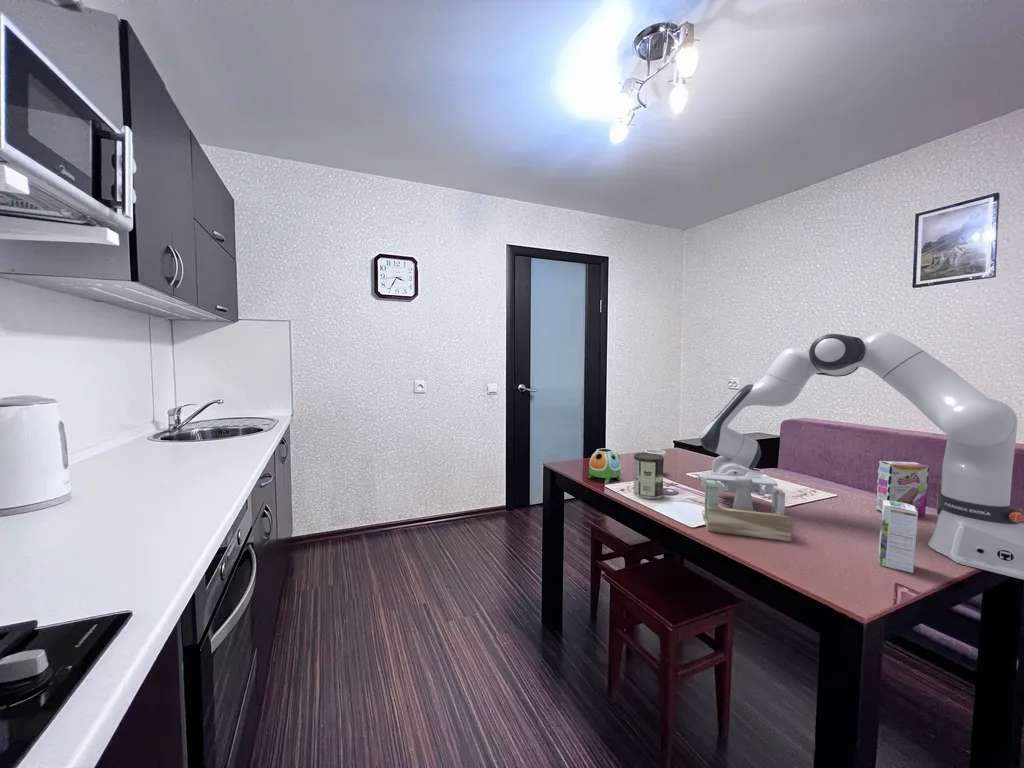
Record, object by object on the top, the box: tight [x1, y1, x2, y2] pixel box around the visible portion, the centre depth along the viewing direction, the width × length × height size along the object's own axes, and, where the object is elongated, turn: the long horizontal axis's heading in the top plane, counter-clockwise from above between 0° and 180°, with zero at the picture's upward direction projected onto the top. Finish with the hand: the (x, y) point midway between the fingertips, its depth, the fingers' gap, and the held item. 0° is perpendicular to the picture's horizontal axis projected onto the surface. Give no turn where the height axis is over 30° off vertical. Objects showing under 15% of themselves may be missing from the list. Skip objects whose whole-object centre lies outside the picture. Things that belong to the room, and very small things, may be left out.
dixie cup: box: [644, 448, 666, 458], centre depth 168 cm, size 8×8×10 cm
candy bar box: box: [874, 460, 930, 518], centre depth 124 cm, size 11×5×16 cm, turn 84°
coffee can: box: [633, 452, 665, 500], centre depth 141 cm, size 10×10×14 cm
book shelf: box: [701, 480, 793, 542], centre depth 113 cm, size 12×20×12 cm, turn 72°
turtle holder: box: [588, 447, 622, 484], centre depth 162 cm, size 12×18×12 cm
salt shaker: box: [731, 476, 755, 512], centre depth 113 cm, size 6×6×13 cm
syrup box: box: [878, 500, 919, 574], centre depth 92 cm, size 6×6×14 cm
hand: (743, 490), depth 113 cm, fingers open, 8 cm apart
